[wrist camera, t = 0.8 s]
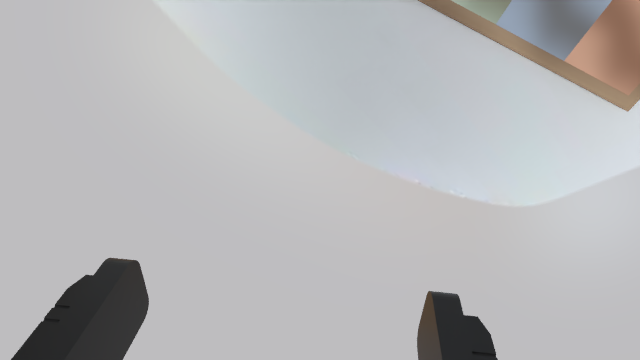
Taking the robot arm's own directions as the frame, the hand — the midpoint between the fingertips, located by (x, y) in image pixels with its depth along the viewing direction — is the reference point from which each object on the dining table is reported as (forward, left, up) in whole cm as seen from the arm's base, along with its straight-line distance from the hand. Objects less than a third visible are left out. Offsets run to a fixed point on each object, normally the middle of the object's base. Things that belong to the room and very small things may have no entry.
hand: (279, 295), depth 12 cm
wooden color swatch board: (-10, +13, -25) cm, 30 cm away
